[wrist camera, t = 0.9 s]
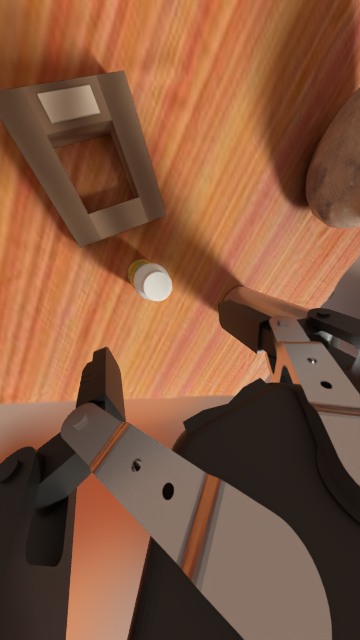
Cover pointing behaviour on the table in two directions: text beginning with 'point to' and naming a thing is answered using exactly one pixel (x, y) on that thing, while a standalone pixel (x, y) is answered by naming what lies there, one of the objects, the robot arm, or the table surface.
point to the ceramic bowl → (337, 170)
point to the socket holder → (75, 126)
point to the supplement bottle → (150, 280)
